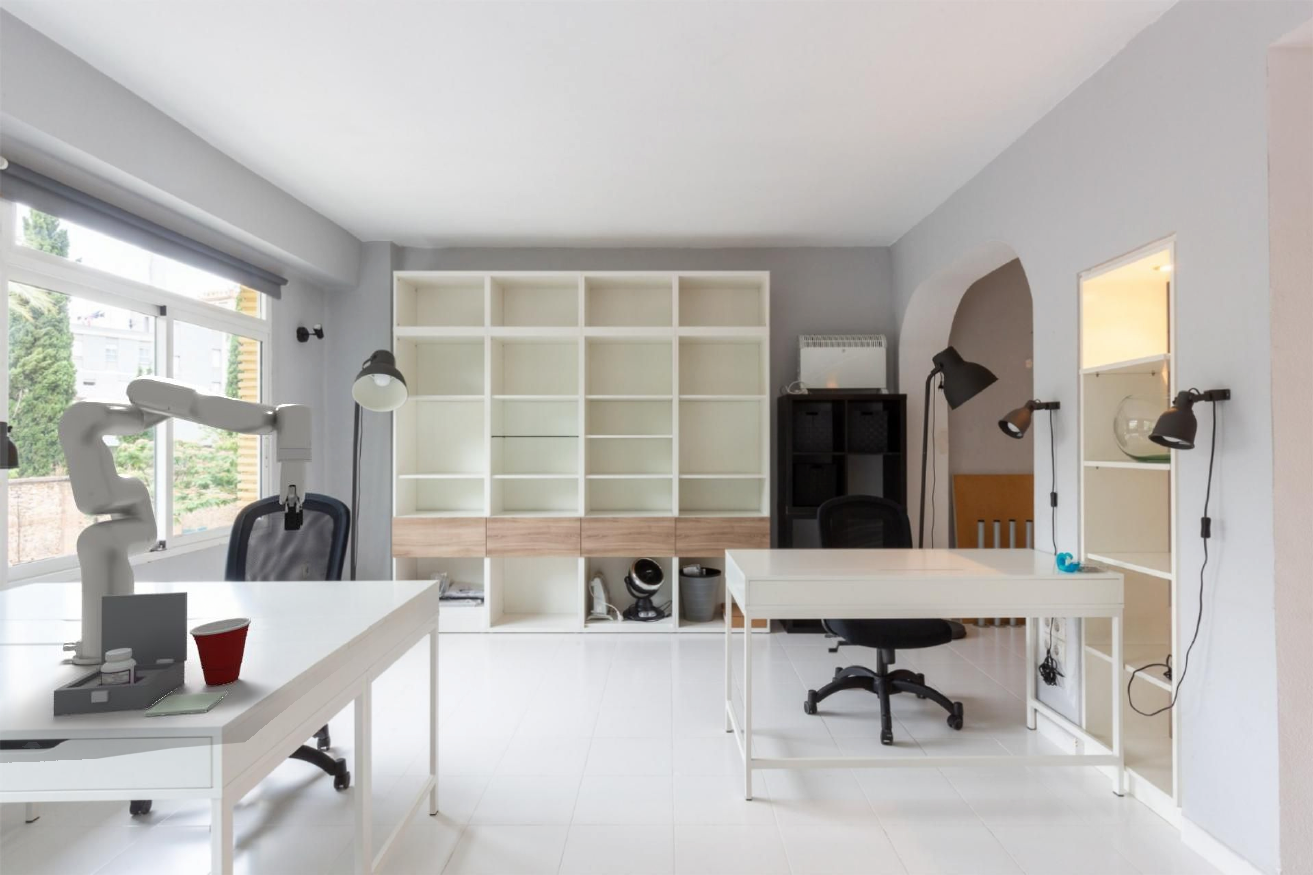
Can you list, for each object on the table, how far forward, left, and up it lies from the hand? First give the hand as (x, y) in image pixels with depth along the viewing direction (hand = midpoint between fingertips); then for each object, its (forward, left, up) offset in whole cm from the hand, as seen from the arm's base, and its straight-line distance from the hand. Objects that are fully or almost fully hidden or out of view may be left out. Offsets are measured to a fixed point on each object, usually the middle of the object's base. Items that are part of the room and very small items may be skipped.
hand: (293, 527), depth 161 cm
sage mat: (-8, -33, -29) cm, 45 cm away
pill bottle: (-22, -28, -30) cm, 46 cm away
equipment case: (-22, -26, -29) cm, 45 cm away
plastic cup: (-8, -20, -30) cm, 36 cm away
